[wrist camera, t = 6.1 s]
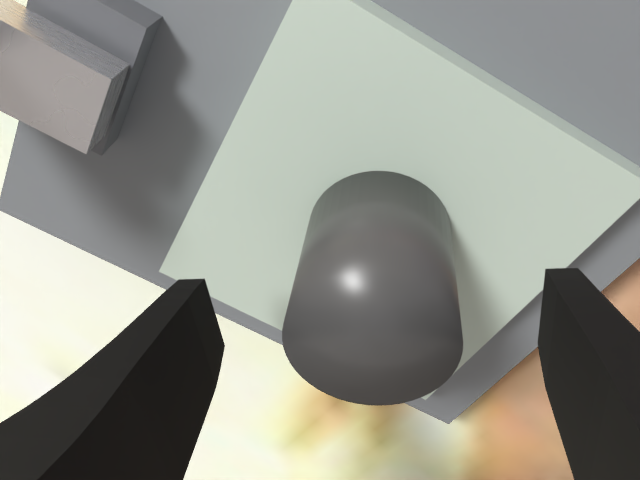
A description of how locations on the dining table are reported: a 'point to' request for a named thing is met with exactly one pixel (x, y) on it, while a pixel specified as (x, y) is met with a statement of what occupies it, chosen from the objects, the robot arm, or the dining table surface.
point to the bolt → (56, 78)
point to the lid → (389, 203)
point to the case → (227, 96)
